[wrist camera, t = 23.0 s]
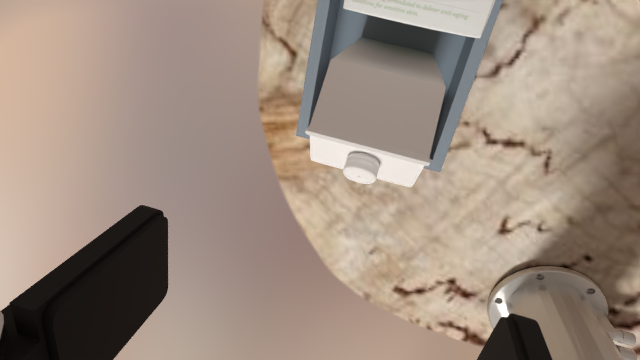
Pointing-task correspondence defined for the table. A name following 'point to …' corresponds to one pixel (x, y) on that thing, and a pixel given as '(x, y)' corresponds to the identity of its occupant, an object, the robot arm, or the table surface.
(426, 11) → the skincare box
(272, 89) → the table surface
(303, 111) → the tote
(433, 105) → the milk carton
